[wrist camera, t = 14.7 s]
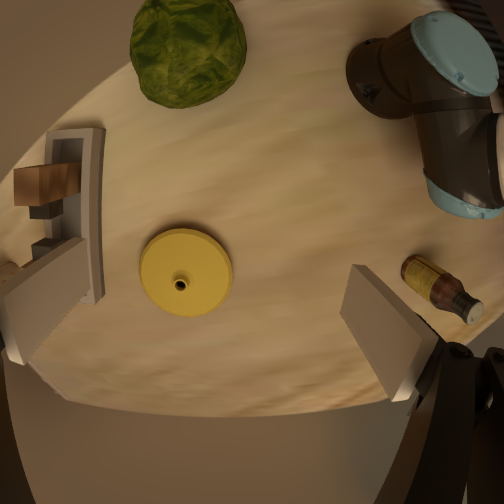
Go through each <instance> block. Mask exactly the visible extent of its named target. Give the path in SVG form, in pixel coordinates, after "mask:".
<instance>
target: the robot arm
mask: <svg viewBox="0 0 504 504" xmlns="http://www.w3.org/2000/svg"><path fill="white" fill-rule="evenodd" d="M346 76H347V81H348V84H349V87H350V89H351V91H352V93H353V95H354V96H355V98H356V99H357V100H358V102H359V103H360V104H361V105H362V106H363V107H364V108H365V109H367V110H368V111H369V112H371V113H372V114H374V115H376V116H378V117H381V118H384V119H401V118H406V117H409V116H411V115H413V114H414V118H415V122H416V126H417V131H418V136H419V141H420V146H421V152H422V158H423V164H424V168H423V173H424V176H425V178H426V182H427V188H428V194H429V197H430V199H431V200H432V201H433V203H434V204H435V205H436V206H437V207H439V208H440V209H442V210H443V211H445V212H447V213H450V214H453V215H456V216H459V217H463V218H469V219H477V218H482V219H492V218H495V217H498V216H499V215H500V214H501V213H502V211H503V209H504V113H493V111H492V107H491V102H490V97H489V95H490V94H492V92H493V91H494V90H495V89H496V87H497V85H498V82H497V79H498V78H499V72H498V67H497V63H496V60H495V57H494V55H493V53H492V51H491V49H490V47H489V45H488V44H487V42H486V41H485V39H484V38H483V37H482V36H481V34H480V33H479V32H478V31H477V30H476V29H474V28H473V27H472V26H471V25H470V24H469V23H468V22H467V21H466V20H464V19H463V18H461V17H459V16H457V15H455V14H453V13H450V12H446V11H433V12H430V13H428V14H426V15H424V16H419V17H418V18H415V19H414V20H413V21H412V22H411V23H409V24H408V25H406V26H405V27H403V28H402V29H400V30H399V31H397V32H396V33H394V34H393V35H391V36H390V37H388V38H374V39H369V40H367V41H364V42H362V43H361V44H360V45H358V46H357V47H356V48H355V49H354V50H353V51H352V52H351V54H350V55H349V57H348V60H347V64H346ZM89 290H90V279H89V268H88V254H87V238H79V237H73V238H72V239H70V240H68V241H67V242H65V243H63V244H62V245H60V246H59V247H57V248H55V249H54V250H52V251H51V252H49V253H47V254H46V255H44V256H43V257H41V258H40V259H38V260H37V261H35V262H34V263H32V264H31V265H29V266H28V267H26V268H25V269H23V270H22V271H20V272H19V273H17V274H16V275H14V276H13V277H12V278H10V279H9V280H7V281H6V282H4V283H3V284H2V285H0V352H1V351H2V350H3V349H4V347H5V348H6V351H7V354H8V356H9V359H10V360H11V361H13V362H16V363H19V364H21V365H25V364H26V362H27V361H28V360H29V358H30V357H31V356H32V355H33V354H34V352H35V351H36V350H37V349H38V347H39V346H40V345H41V344H42V343H43V341H44V340H45V339H46V338H47V337H48V336H49V334H50V333H51V332H52V331H53V330H54V329H55V327H56V326H57V325H58V324H59V323H60V322H61V321H62V319H63V318H64V317H65V316H66V315H67V314H68V313H69V312H70V311H71V309H72V308H73V307H74V306H75V305H76V304H77V303H78V302H79V301H80V300H81V299H82V297H83V296H84V295H85V294H86V293H87V292H88V291H89ZM340 314H341V316H342V318H343V319H344V321H345V323H346V324H347V326H348V328H349V329H350V331H351V333H352V334H353V336H354V338H355V339H356V341H357V343H358V344H359V346H360V348H361V349H362V351H363V353H364V354H365V356H366V358H367V360H368V361H369V363H370V365H371V366H372V368H373V370H374V372H375V373H376V375H377V377H378V379H379V380H380V382H381V384H382V386H383V387H384V389H385V391H386V393H387V394H388V396H389V398H390V400H391V402H394V401H400V400H406V399H409V397H410V395H411V393H412V391H413V390H414V388H415V387H416V389H417V390H418V392H419V393H420V394H419V395H418V397H417V399H416V400H415V402H414V404H413V406H412V407H411V409H410V410H409V412H408V414H407V415H408V416H409V415H410V414H411V416H410V419H409V422H408V425H407V428H406V430H405V433H404V436H403V439H402V441H401V444H400V446H399V449H398V452H397V454H396V457H395V459H394V461H393V464H392V466H391V468H390V470H389V473H388V475H387V477H386V479H385V482H384V484H383V486H382V488H381V490H380V492H379V494H378V496H377V498H376V500H375V502H374V504H462V501H463V496H464V492H465V487H466V482H467V504H504V350H502V349H501V348H496V347H490V348H488V350H487V352H486V354H485V356H484V358H478V357H474V355H473V353H472V351H471V350H470V349H469V348H467V347H466V346H464V345H462V344H460V343H457V342H447V343H446V342H445V341H444V339H443V338H442V337H441V336H440V335H439V334H438V333H437V332H436V331H435V330H434V329H433V328H431V326H430V325H429V324H428V323H426V321H425V320H424V319H423V318H422V317H421V316H420V315H418V314H417V313H415V312H414V311H412V310H411V309H410V308H409V307H408V306H407V305H406V304H405V303H404V302H403V301H402V300H401V299H400V298H399V297H398V296H397V295H396V294H395V293H394V292H393V291H392V290H391V289H390V288H389V287H388V286H387V285H386V284H385V283H384V282H383V281H382V280H381V279H380V278H379V277H378V276H376V275H375V274H374V273H373V272H372V271H371V270H370V269H369V268H368V267H367V266H366V265H356V264H352V267H351V271H350V275H349V280H348V284H347V288H346V291H345V295H344V299H343V303H342V307H341V310H340ZM492 397H493V401H492V404H491V406H490V408H489V407H488V403H489V402H490V400H491V399H492ZM0 504H36V503H35V500H34V498H33V495H32V492H31V490H30V487H29V484H28V481H27V479H26V476H25V472H24V469H23V466H22V462H21V459H20V455H19V452H18V448H17V444H16V440H15V436H14V431H13V426H12V422H11V417H10V411H9V405H8V400H7V393H6V385H5V376H4V365H3V359H2V356H1V353H0Z"/></svg>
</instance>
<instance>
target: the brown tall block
mask: <svg viewBox="0 0 504 504" xmlns="http://www.w3.org/2000/svg"><path fill="white" fill-rule="evenodd" d="M81 173H82V162H61V163H53V164H45V165H37V166H30V167H24V168H18V169H14V206H29V212H30V219H46V220H50V219H52V218H55V217H57V216H59V215H62V214H63V198H65V197H68V196H71V195H74V194H77V193H81Z"/></svg>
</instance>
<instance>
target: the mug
mask: <svg viewBox="0 0 504 504" xmlns="http://www.w3.org/2000/svg"><path fill="white" fill-rule="evenodd" d="M19 272H20V268H19V267H18V266H17V265H16V264H14V263H7V264H5V265H2V266H0V285H2V284H3V283H4V282H6V281H7V280H9V279H10V278H12V277H13V276H14V275H16V274H17V273H19Z"/></svg>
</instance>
